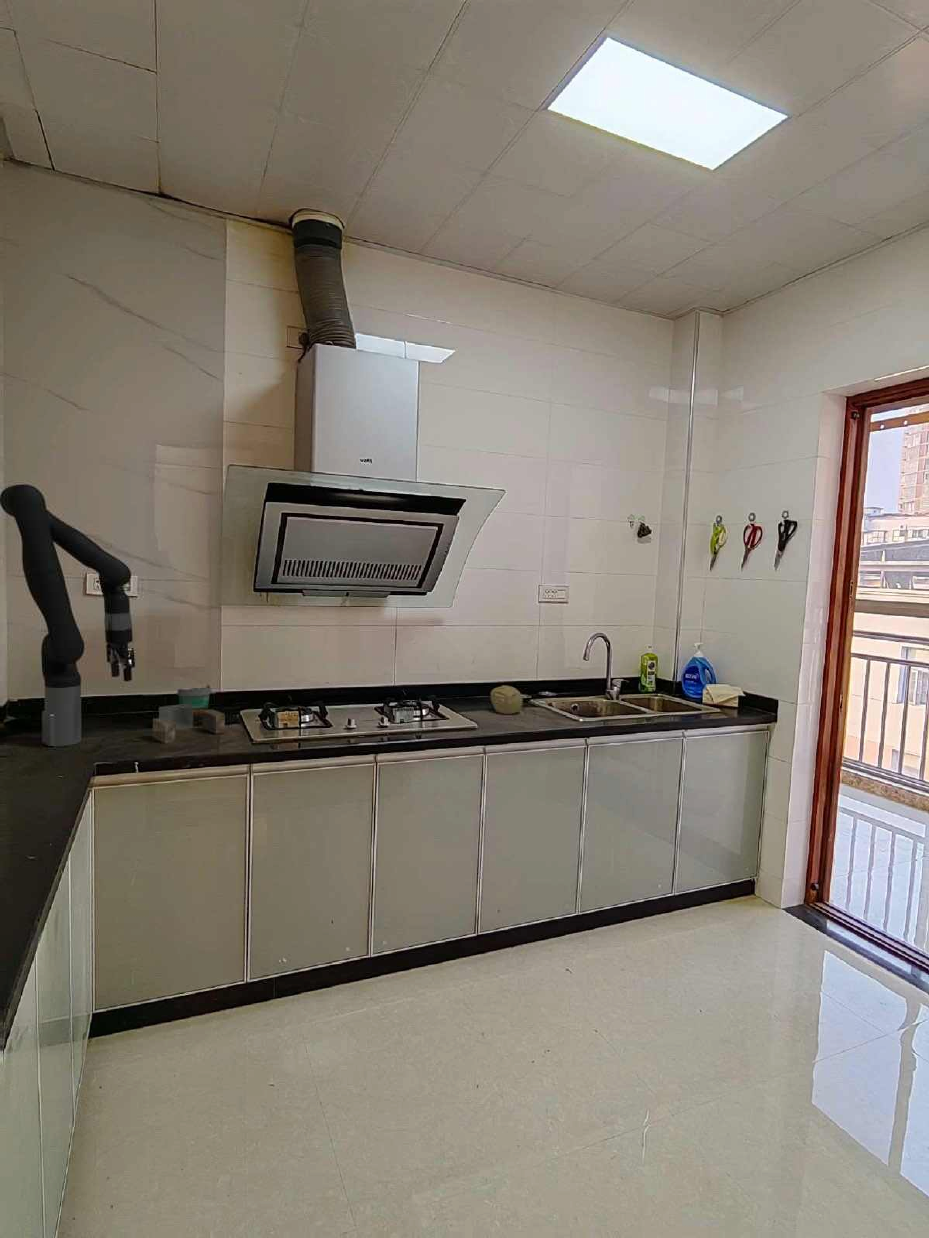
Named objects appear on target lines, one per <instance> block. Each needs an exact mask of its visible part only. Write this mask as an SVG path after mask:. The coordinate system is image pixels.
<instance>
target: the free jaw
mask: <svg viewBox="0 0 929 1238" xmlns="http://www.w3.org/2000/svg"><path fill="white" fill-rule="evenodd" d="M225 714H226V713H223V712H221V711H218V710H215V709H208V710H205V711H203V717H202V720H201V721H202V724H201V725H202V729H203V730H205V731H208V732H211V733H213V734H216V735H217V734H222V733H225V726H226V725H225V723H226V722H225V718H226V717H225V716H226V715H225Z"/></svg>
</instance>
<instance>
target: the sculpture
mask: <svg viewBox="0 0 929 1238" xmlns="http://www.w3.org/2000/svg"><path fill="white" fill-rule="evenodd" d="M490 701H491V703H492V705H493V707H494V710H495V711H496V712H497V713H498V714H502V715H512V714H516V713H518V712H520V710H521V709H522V706H523V701H524V699H523V697H522V694H521V692H520V691H519V690H518V689H517V688H515V687H513V686H510V685H504V684H503V685H501V686H498V687H495V688H493V689H492V690H491V691H490Z"/></svg>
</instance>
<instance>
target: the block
mask: <svg viewBox="0 0 929 1238" xmlns="http://www.w3.org/2000/svg"><path fill="white" fill-rule="evenodd" d="M158 718H165V719H167V720H170V721H172V722H175V723H176V729H177V730H183V729H188V728H187V727H189V728H193V727H194V718H193V706H191V705H188V704H174V705H173V704H172V705H165V706H159V708H158ZM192 726H193V727H192Z"/></svg>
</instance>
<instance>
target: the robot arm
mask: <svg viewBox="0 0 929 1238" xmlns="http://www.w3.org/2000/svg"><path fill="white" fill-rule="evenodd" d="M0 507H1V508H2V510H3V511H4V512H5V513H6V514H7V515H8V516H10V517H13V518H14V520H15V522H16V525H17V528H18V530H19V534H20V538H21V551H22V552H21V563H22V564H21V565H22V571H23V575H24V579H25V581H26V585H27V588H28V590H29V593H30V596H31V598H32V600H33V601H34V603H35V604H36V607H37V608H38V610H39V611H40V613H41V614H42V616H43V618H44V622H45V624H46V625H45V626H46V628H47V629H46V630H47V632H48V633H47V634H46V635H45V636H44V638H42V642H41V648H40V650H41V651H40V652H41V653H40V655H41V672H42V677H43V680H44V710H42V713H41V716H42V717H41V718H42V719H41V723H42V724H41V728H42V729H41V731H42V735H41V738H42V741H41V742H42V744H44V743H45V744H46V746H47V745H48V746H47V747H49V746H53V747H66V746H67V747H69V746H72V745H77V744H80V743H81V741H82V677H81V674H80V672H79V670H78V667H77V666H78V665H77V662H78V661H80V659H81V658H82V657H83V655H84V651H85V642H84V639H83V637H82V634H81V631H80V629H79V627H78V624H77V621H76V619H75V616H74V614H73V610H72V605H71V604H72V603H71V602H70V601H71V600H70V597H69V593H68V592H69V591H68V589H67V584H66V579H65V576H64V572H63V569H62V566H61V562H60V560H59V557H58V552H57V548H56V546H55V544H56V545H57V546H58V547H60V548H61V549H62V550H64V551H65V552H66V553H67V554H69V555H70V556H71V557H73V558H74V559H75V560H76V561H78V562H79V563H80V564H81V565H83V566H85V567H87V568H89V569H92V570H94V571H95V572H97V574H98V582H99V586H100V587H99V588H100V590H101V594H102V597H103V608H104V618H103V619H104V621H103V623H104V636H105V643H106V644H105V645H106V646H105V649H106V652H105V653H106V662H107V663H108V664H109V665H110V670H111V677H113V678H118V677H120V676H121V673H120V665H119V664H121V667H122V669H123V670H122V673H123V674H122V675H123V676H122V677H123V681H124V682H130V681H132V680H133V676H132V675H133V674H132V669H133V668H135V667H136V662H135V659H136V658H135V651H134V650H135V649H134V648H133V647H129V643H131V642H133V640H134V638H133V637H134V636H133V622H132V621H133V620H132V616H131V606H130V597H129V595H128V594H127V593H126V592H125V587H124V586H125V585H127V584H128V583H129V582H130V581H131V579H132V572H131V569H130V568H129V567H128V565H127V564H125V563H124V562H123V560H120V559H119V558H118V557H116V556H113V555H112V554H111V553H109V552H107V551H106V550H104V549H103V548H102V547H101V546H100V545H98V544H97V543H96V542H95V541H93V540H92V539H91V538H89V537H88V536H87V535H86V534H84V533H83V532H81V531H79V530H78V529H76V528H75V527H73V526H71V525H69V524H68V523H66V522H64V520H61V519H60V518H59V517H57V516H56V515H55V514H53V513H52V512H51V511H50V510H48V508H47V503H46V499H45V497H44V495H43V493H42V492H41V490H39V489H38V488H37V487H36V486H34V485H31V484H25V483H24V484H23V483H22V484H14V485H10V486H8V487H5V489H3V490H2V491H1V493H0ZM45 744H44V745H45Z"/></svg>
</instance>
